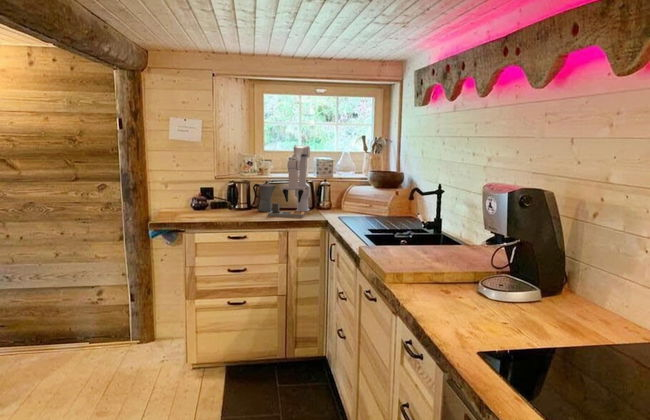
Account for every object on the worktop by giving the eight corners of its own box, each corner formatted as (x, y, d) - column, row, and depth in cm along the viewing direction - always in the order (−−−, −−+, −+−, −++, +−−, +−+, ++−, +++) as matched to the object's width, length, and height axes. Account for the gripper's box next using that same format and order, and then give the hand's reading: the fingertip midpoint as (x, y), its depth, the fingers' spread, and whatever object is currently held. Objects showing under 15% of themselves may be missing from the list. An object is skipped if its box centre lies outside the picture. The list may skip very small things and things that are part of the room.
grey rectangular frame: (271, 214, 308) (271, 210, 307) (305, 215, 304) (305, 212, 304) (268, 216, 300) (268, 212, 299) (302, 217, 297) (302, 214, 296)
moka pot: (275, 212, 314) (275, 182, 311) (251, 212, 314) (251, 181, 311) (276, 210, 323) (276, 180, 320) (254, 209, 324) (253, 180, 320)
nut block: (273, 214, 305) (273, 202, 304) (279, 215, 305) (279, 202, 303) (272, 215, 302) (272, 203, 300) (277, 216, 301) (277, 203, 300)
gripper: (279, 180, 288) (279, 202, 291) (303, 181, 286) (303, 203, 288) (283, 179, 295) (283, 200, 297) (306, 179, 292) (305, 201, 295)
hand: (293, 202), depth 293 cm, fingers open, 7 cm apart
